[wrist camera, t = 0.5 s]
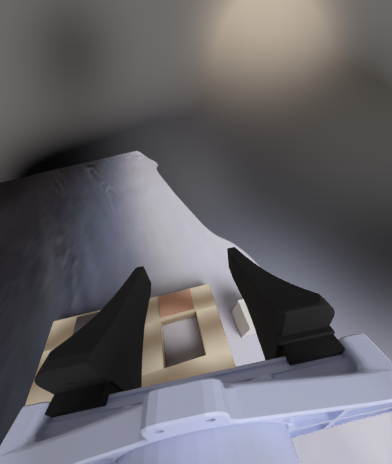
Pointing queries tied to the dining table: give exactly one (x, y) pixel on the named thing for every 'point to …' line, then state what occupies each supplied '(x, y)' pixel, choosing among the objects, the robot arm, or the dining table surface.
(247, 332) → the plug
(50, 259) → the dining table surface
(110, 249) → the dining table surface
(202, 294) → the socket block
